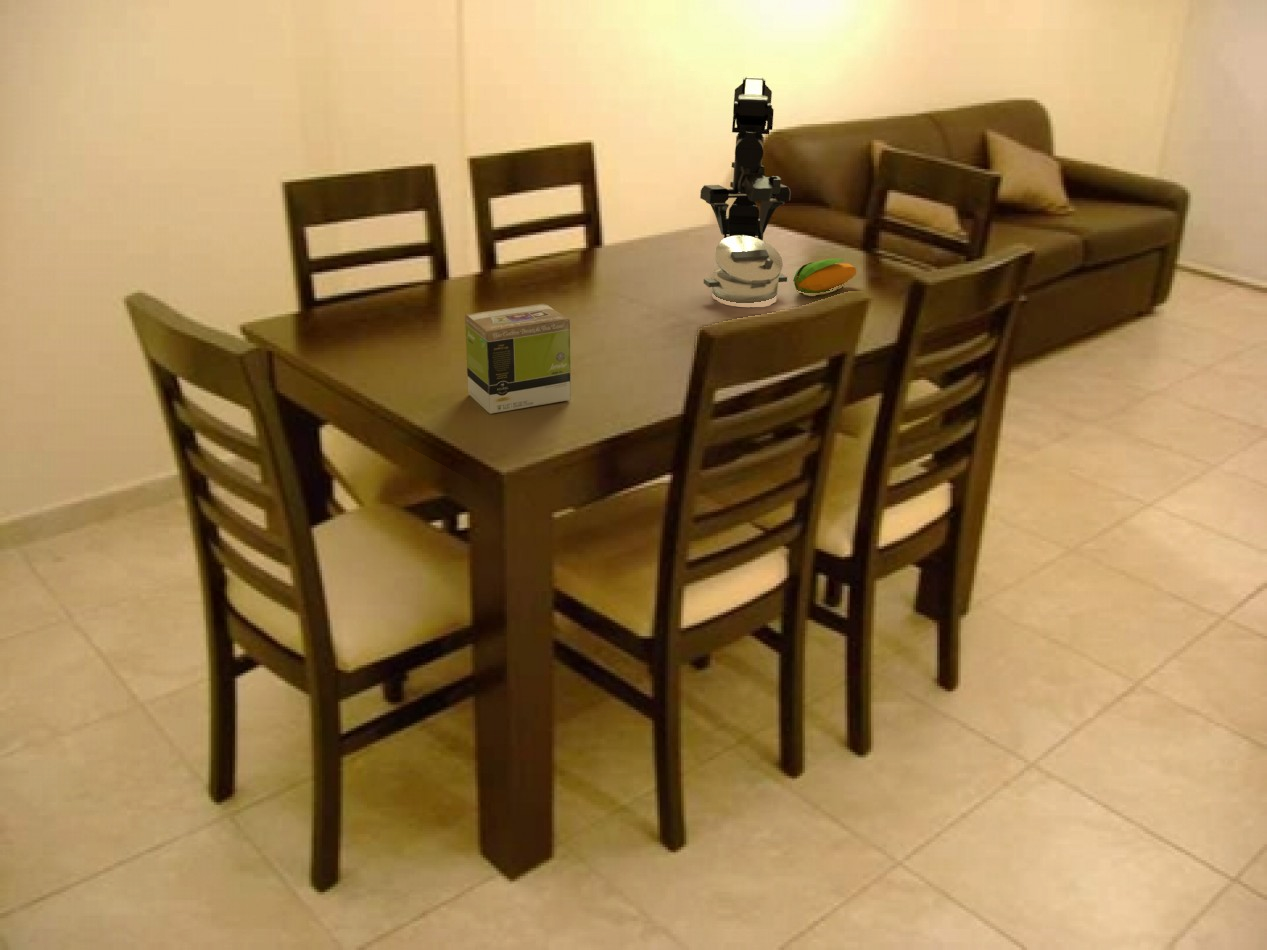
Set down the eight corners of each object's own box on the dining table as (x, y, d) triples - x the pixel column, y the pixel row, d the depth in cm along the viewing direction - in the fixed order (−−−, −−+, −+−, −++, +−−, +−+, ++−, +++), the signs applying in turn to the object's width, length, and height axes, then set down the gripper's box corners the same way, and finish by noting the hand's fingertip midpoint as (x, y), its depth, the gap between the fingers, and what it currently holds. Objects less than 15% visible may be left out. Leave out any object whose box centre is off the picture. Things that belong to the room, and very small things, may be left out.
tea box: (546, 382, 211) (547, 301, 204) (571, 402, 203) (572, 318, 196) (466, 394, 204) (464, 311, 198) (488, 416, 196) (486, 329, 190)
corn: (786, 261, 259) (843, 247, 272) (781, 294, 263) (838, 279, 275) (813, 271, 254) (870, 256, 267) (807, 305, 258) (863, 289, 271)
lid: (705, 240, 257) (708, 231, 255) (766, 237, 262) (769, 227, 260) (729, 287, 249) (732, 278, 247) (792, 283, 253) (795, 273, 251)
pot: (692, 291, 262) (694, 269, 260) (768, 286, 268) (770, 264, 266) (718, 311, 251) (720, 287, 248) (796, 304, 257) (799, 281, 254)
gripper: (723, 167, 240) (718, 244, 247) (806, 165, 247) (798, 240, 253) (701, 157, 250) (697, 232, 256) (781, 156, 256) (775, 228, 263)
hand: (742, 233), depth 257 cm, fingers open, 9 cm apart
